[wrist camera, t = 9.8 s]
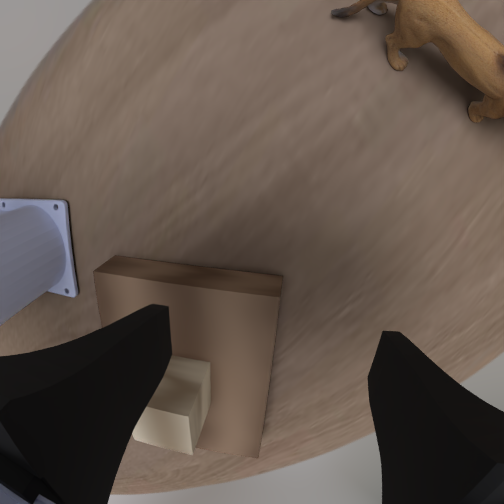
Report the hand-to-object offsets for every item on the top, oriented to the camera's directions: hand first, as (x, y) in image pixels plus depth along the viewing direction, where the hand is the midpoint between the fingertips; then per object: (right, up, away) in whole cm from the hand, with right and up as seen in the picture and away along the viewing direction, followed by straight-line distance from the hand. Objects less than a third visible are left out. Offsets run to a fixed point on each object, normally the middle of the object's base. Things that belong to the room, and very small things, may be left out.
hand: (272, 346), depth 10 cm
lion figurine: (+11, +15, +5) cm, 19 cm away
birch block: (-6, -6, +11) cm, 13 cm away
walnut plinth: (-5, -5, +14) cm, 16 cm away
